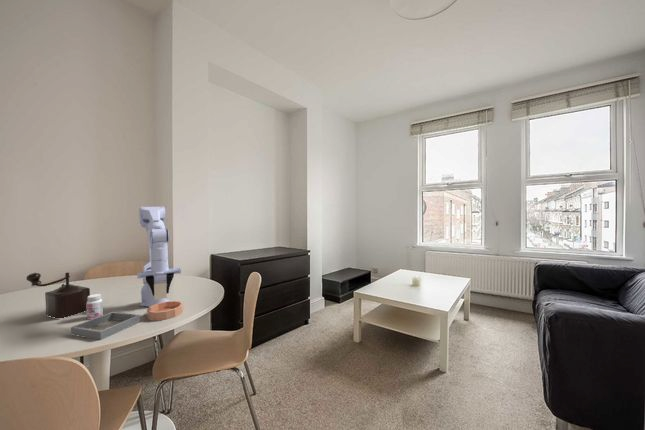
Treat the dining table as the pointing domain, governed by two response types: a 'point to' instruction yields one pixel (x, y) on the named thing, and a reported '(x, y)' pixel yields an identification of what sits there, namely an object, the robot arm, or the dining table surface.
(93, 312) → the pill bottle
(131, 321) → the tray
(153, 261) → the robot arm
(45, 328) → the dining table surface
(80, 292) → the manual coffee grinder
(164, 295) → the sandstone block
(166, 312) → the bowl
